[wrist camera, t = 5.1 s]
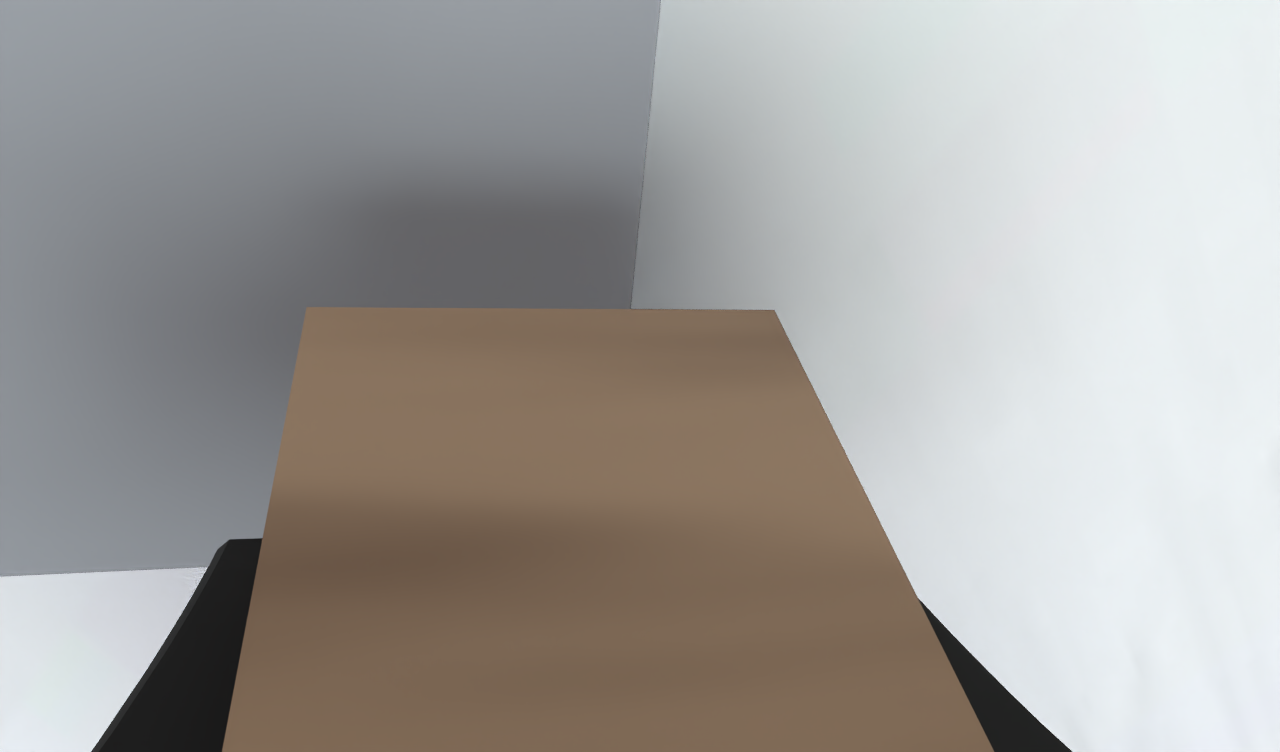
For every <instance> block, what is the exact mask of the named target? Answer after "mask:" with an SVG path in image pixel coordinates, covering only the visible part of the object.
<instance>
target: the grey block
mask: <svg viewBox="0 0 1280 752" xmlns="http://www.w3.org/2000/svg"><path fill="white" fill-rule="evenodd" d="M660 3H661V0H0V576H20V575H42V574H64V573H86V572H108V571H129V570H151V569H173V568H195V567H209V565H210V563H211V561H212V559H213V557H214V555H215V553H216V551H217V549H218V548H220V547H221V546H222V545H223V544H224V543H226V542H227V541H228V540H229V539H254V538H263V533H264V528H265V523H266V518H267V512H268V507H269V502H270V496H271V491H272V486H273V481H274V475H275V470H276V465H277V460H278V454H279V449H280V444H281V439H282V433H283V428H284V423H285V418H286V412H287V407H288V402H289V397H290V391H291V386H292V381H293V376H294V370H295V365H296V360H297V354H298V349H299V344H300V339H301V333H302V328H303V323H304V318H305V312H306V307H373V308H528V309H631V299H632V289H633V279H634V269H635V259H636V248H637V238H638V228H639V218H640V208H641V197H642V187H643V177H644V167H645V156H646V146H647V136H648V126H649V116H650V105H651V95H652V85H653V75H654V64H655V54H656V44H657V34H658V24H659V13H660Z"/></svg>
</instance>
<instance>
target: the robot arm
mask: <svg viewBox="0 0 1280 752" xmlns="http://www.w3.org/2000/svg"><path fill="white" fill-rule="evenodd" d="M262 539H263V538H254V539H229V540H228V541H227V542H226V543H224V544H223V545H222V546H221V547H220V548H218V549H217V551H216V553H215V555H214V557H213V559H212V561H211V563H210V565H209V567H208V568H207V570H206V572H205V574H204V576H203V578H202V579H201V581H200V583H199V585H198V586H197V588H196V590H195V592H194V594H193V595H192V597H191V599H190V601H189V602H188V604H187V606H186V607H185V609H184V611H183V613H182V614H181V616H180V617H179V619H178V621H177V622H176V624H175V626H174V627H173V629H172V631H171V632H170V634H169V635H168V637H167V639H166V640H165V642H164V643H163V645H162V647H161V648H160V650H159V651H158V653H157V655H156V656H155V658H154V659H153V661H152V663H151V664H150V666H149V667H148V669H147V670H146V672H145V673H144V675H143V676H142V678H141V679H140V681H139V682H138V684H137V685H136V687H135V688H134V690H133V691H132V693H131V694H130V696H129V697H128V699H127V700H126V702H125V703H124V705H123V706H122V707H121V709H120V710H119V712H118V713H117V715H116V716H115V718H114V719H113V721H112V722H111V724H110V725H109V727H108V728H107V730H106V731H105V733H104V734H103V736H102V737H101V739H100V740H99V742H98V743H97V744H96V746H95V747H94V749H93V750H92V751H91V752H222V749H223V744H224V738H225V733H226V728H227V723H228V717H229V712H230V707H231V702H232V696H233V691H234V686H235V681H236V675H237V670H238V665H239V659H240V654H241V649H242V644H243V638H244V633H245V628H246V623H247V617H248V612H249V607H250V602H251V596H252V591H253V586H254V581H255V575H256V570H257V565H258V560H259V554H260V549H261V544H262ZM918 600H919V599H918ZM919 602H920V604H921V606H922V608H923V610H924V612H925V614H926V616H927V618H928V620H929V622H930V624H931V626H932V628H933V630H934V632H935V634H936V636H937V638H938V640H939V642H940V644H941V646H942V648H943V650H944V652H945V654H946V656H947V658H948V660H949V662H950V664H951V666H952V668H953V670H954V672H955V674H956V676H957V678H958V680H959V682H960V684H961V686H962V688H963V690H964V692H965V694H966V696H967V698H968V700H969V702H970V704H971V706H972V708H973V710H974V712H975V714H976V716H977V718H978V720H979V722H980V724H981V726H982V728H983V730H984V732H985V734H986V736H987V738H988V740H989V742H990V744H991V746H992V748H993V750H994V752H1072V751H1071V750H1070V749H1069V748H1068V747H1066V746H1065V745H1064V744H1063V743H1062V742H1061V741H1060V740H1059V739H1058V738H1057V737H1056V736H1054V735H1053V734H1052V733H1051V732H1050V731H1049V730H1048V729H1047V728H1046V727H1045V726H1044V725H1042V724H1041V723H1040V722H1039V721H1038V720H1037V719H1036V718H1035V717H1034V716H1033V715H1032V714H1031V713H1030V712H1029V711H1028V710H1027V709H1026V708H1025V707H1024V706H1023V705H1022V704H1021V703H1020V702H1019V701H1018V700H1017V699H1015V698H1014V697H1013V696H1012V695H1011V694H1010V693H1009V692H1008V691H1007V690H1006V689H1005V688H1004V687H1003V686H1002V685H1001V684H1000V683H999V682H998V681H997V680H996V679H995V678H994V677H993V676H992V675H991V674H990V673H989V672H988V671H987V670H986V669H985V667H984V666H983V665H982V664H981V663H980V662H979V661H978V660H977V659H976V658H975V657H974V656H973V655H972V654H971V653H970V652H969V651H968V650H967V649H966V648H965V647H964V646H963V645H962V644H961V643H960V642H959V641H958V640H957V639H956V638H955V637H954V636H953V635H952V634H951V633H950V632H949V631H948V630H947V628H946V627H945V626H944V625H943V624H942V623H941V622H940V621H939V620H938V619H937V618H936V617H935V616H934V615H933V614H932V613H931V611H930V610H929V609H928V608H927V607H926V606H925V605H924V604H923V603H922V602H921V601H920V600H919Z"/></svg>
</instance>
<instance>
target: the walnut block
mask: <svg viewBox="0 0 1280 752" xmlns="http://www.w3.org/2000/svg"><path fill="white" fill-rule="evenodd" d="M222 752H994V750H993V748H992V746H991V744H990V742H989V740H988V738H987V736H986V734H985V732H984V730H983V728H982V726H981V724H980V722H979V720H978V718H977V716H976V714H975V712H974V710H973V708H972V706H971V704H970V702H969V700H968V698H967V696H966V694H965V692H964V690H963V688H962V686H961V684H960V682H959V680H958V678H957V676H956V674H955V672H954V670H953V668H952V666H951V664H950V662H949V660H948V658H947V656H946V654H945V652H944V650H943V648H942V646H941V644H940V642H939V640H938V638H937V636H936V634H935V632H934V630H933V628H932V626H931V624H930V622H929V620H928V618H927V616H926V614H925V612H924V610H923V608H922V606H921V604H920V602H919V600H918V598H917V596H916V594H915V592H914V590H913V588H912V586H911V584H910V582H909V580H908V578H907V576H906V574H905V572H904V570H903V568H902V566H901V564H900V562H899V560H898V558H897V556H896V554H895V552H894V550H893V547H892V545H891V543H890V541H889V539H888V537H887V535H886V533H885V531H884V529H883V527H882V525H881V523H880V521H879V519H878V517H877V515H876V513H875V511H874V509H873V507H872V505H871V503H870V501H869V499H868V497H867V495H866V493H865V491H864V489H863V487H862V485H861V483H860V481H859V479H858V477H857V475H856V473H855V471H854V469H853V467H852V465H851V463H850V461H849V459H848V457H847V455H846V453H845V451H844V449H843V447H842V445H841V443H840V441H839V439H838V437H837V435H836V433H835V431H834V429H833V427H832V425H831V423H830V421H829V419H828V417H827V415H826V413H825V411H824V409H823V407H822V405H821V403H820V401H819V399H818V397H817V395H816V393H815V391H814V389H813V387H812V385H811V383H810V381H809V379H808V377H807V375H806V373H805V371H804V369H803V367H802V365H801V363H800V361H799V359H798V357H797V355H796V353H795V351H794V349H793V347H792V345H791V343H790V341H789V339H788V337H787V335H786V333H785V331H784V329H783V327H782V325H781V323H780V321H779V319H778V317H777V315H776V313H775V311H774V310H683V309H528V308H373V307H306V312H305V318H304V323H303V328H302V333H301V339H300V344H299V349H298V354H297V360H296V365H295V370H294V376H293V381H292V386H291V391H290V397H289V402H288V407H287V412H286V418H285V423H284V428H283V433H282V439H281V444H280V449H279V454H278V460H277V465H276V470H275V475H274V481H273V486H272V491H271V496H270V502H269V507H268V512H267V518H266V523H265V528H264V533H263V539H262V544H261V549H260V554H259V560H258V565H257V570H256V575H255V581H254V586H253V591H252V596H251V602H250V607H249V612H248V617H247V623H246V628H245V633H244V638H243V644H242V649H241V654H240V659H239V665H238V670H237V675H236V681H235V686H234V691H233V696H232V702H231V707H230V712H229V717H228V723H227V728H226V733H225V738H224V744H223V749H222Z"/></svg>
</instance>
